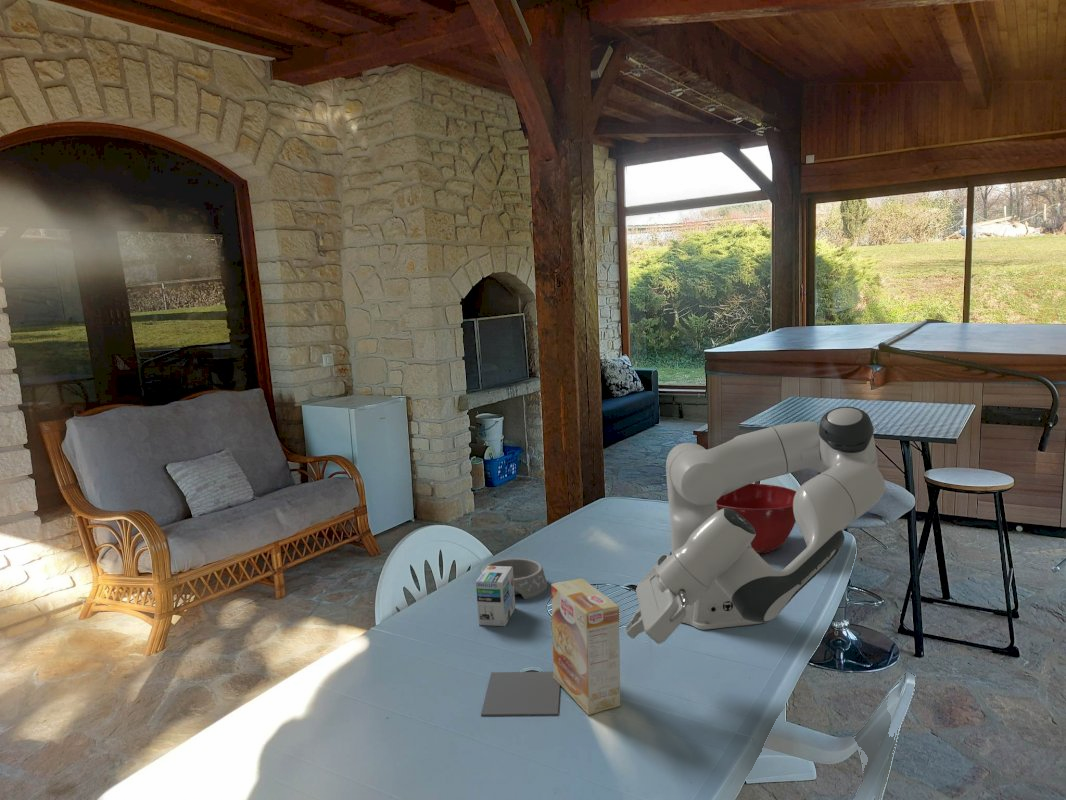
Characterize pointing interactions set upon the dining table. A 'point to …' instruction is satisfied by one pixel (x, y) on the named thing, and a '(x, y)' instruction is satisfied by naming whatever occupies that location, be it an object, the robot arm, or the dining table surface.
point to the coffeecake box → (586, 645)
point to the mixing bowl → (763, 513)
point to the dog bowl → (524, 576)
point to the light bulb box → (495, 595)
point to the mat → (521, 694)
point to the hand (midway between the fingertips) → (628, 632)
